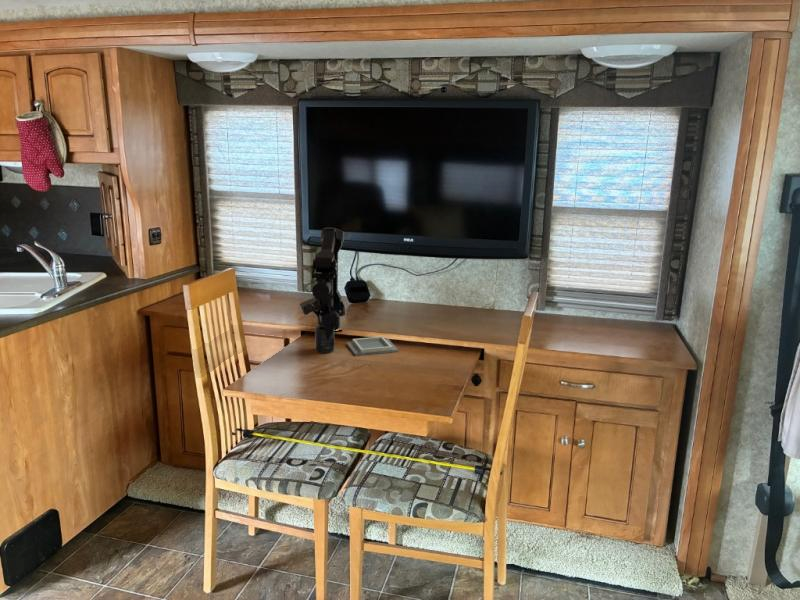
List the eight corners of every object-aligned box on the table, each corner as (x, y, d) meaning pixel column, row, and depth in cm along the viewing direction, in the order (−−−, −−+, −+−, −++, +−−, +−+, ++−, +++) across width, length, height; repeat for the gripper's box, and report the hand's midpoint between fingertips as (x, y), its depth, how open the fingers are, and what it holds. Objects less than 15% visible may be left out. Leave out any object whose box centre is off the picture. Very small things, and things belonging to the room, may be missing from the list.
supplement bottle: (313, 348, 220) (313, 316, 216) (331, 346, 222) (331, 314, 219) (317, 354, 213) (317, 322, 210) (336, 352, 216) (336, 320, 212)
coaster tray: (346, 344, 224) (346, 339, 224) (387, 340, 229) (387, 335, 229) (355, 355, 213) (355, 350, 213) (398, 351, 219) (398, 346, 218)
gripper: (296, 286, 218) (297, 327, 222) (306, 300, 201) (307, 344, 205) (327, 284, 221) (327, 325, 225) (339, 298, 204) (339, 342, 209)
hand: (324, 334), depth 216 cm, fingers open, 9 cm apart
